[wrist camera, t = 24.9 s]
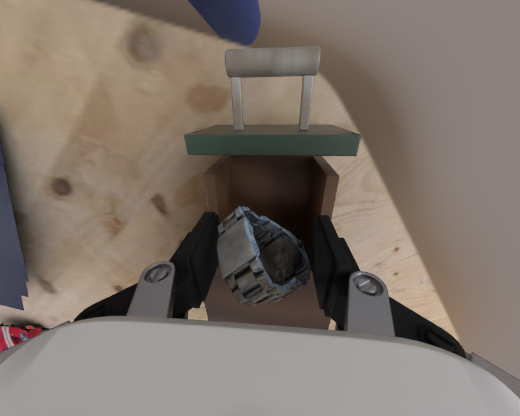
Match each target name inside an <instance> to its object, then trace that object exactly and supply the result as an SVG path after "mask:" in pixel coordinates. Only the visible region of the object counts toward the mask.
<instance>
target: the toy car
mask: <svg viewBox="0 0 520 416" xmlns="http://www.w3.org/2000/svg"><path fill="white" fill-rule="evenodd" d="M40 327H41V326H40V325H38V327H37V328H35V327H34V326H32V325H31V326H30V325H29V326H26V327H25V328H27V329H32V330H30V332H27V331H25V330H22V329H20V328H19V327H15V326H13V325H11V326H8V325H3V323H2V324H0V352H2V351H4V350H6V349H8V348H10V347H12V346H15V345H17V344H19V343H21V342H23V341H25V340H28V339H30V338H32V337H34V336H36V335H38V334H41V333H43V332H45V331H47V330H48V329H45V328H43V329H42V328H40Z"/></svg>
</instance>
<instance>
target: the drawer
mask: <svg viewBox="0 0 520 416" xmlns="http://www.w3.org/2000/svg"><path fill="white" fill-rule="evenodd" d="M319 63H320V47H319V46H309V47H281V48H253V49H227V50H226V51H225V67H226V72H227V75H228V77H229V78H231V89H232V104H233V118H234V125H215V126H212V127H209V128H205V129H202V130H199V131H195V132H192V133H189V134H186V135H184V138H185V143H186V148H187V154H188V155H223V156H222V157H221V158H220V159H219V160H218V161H217V162H216V163H214V164H213V165H212V166H211V167H210V168H209V169H208V170H207V171H206V172H204V173H203V179H204V186H205V192H206V198H207V205H208V211H209V212H215V214H218V216H219V223H220V224H221V223H222V222H223V220H224V219H225V218H226V217H227V216H229V215H230V214H231V213H233V212H234V211H235V210H236V209H237V208H238V207H239V206H241V207H243V206H244V207H248V208H249V211H250V212H254V213H255V214H256V215H257V216H258V217H261V216H265V217H267V218H269V220H271V221H273V222H275V223H277V224H279V225H280V226H281V227H283V228H285V229H286V230H288V231H290V232H291V233H292V234H293V235H294V236H295V237H296V238H297V239H298V241H299V240H302V241H303V242H304V244H305V245H304V247H303V248H304V249H305V251H306V253H307V256H308V258H309V249H310V243H311V236H312V229H313V222H314V218H315V217H317V216H318V215H328V216H329V218H330V220H331V217H332V212H333V207H334V202H335V196H336V191H337V186H338V181H339V175H338V174H337V173H336V172H335V171H334V170H333V168H332V167H331V166H330V165H329V164H328V163H327V162H326V161H325V159H324V158H323V157H322V156H356V155H357V151H358V147H359V142H360V138H361V135H360V134H357V133H354V132H351V131H348V130H345V129H342V128H339V127H336V126H334V125H309V117H310V108H311V98H312V88H313V78H314V76H315V75H316V74H317V72H318V68H319ZM284 76H303V81H302V93H301V106H300V119H299V125H244V123H243V102H242V80H241V78H242V77H284ZM309 261H310V260H309Z"/></svg>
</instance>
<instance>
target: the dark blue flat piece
mask: <svg viewBox="0 0 520 416" xmlns="http://www.w3.org/2000/svg"><path fill="white" fill-rule="evenodd" d="M5 172H6V169H5V163H4V158H3V153H2V147H1V142H0V305H4V306H8V307H12V308H16V309H20V310H24V308H23V303H22V298H21V295H22V296H26V297H28V291H27V286H26V281H28V277H27V271H26V265H25V260H23V256H22V251H21V247H20V242H19V237H18V232H17V227H16V223H15V218H14V213H13V208H12V203H11V199H10V194H9V189H8V184H7V179H6V175H5Z"/></svg>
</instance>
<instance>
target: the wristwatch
mask: <svg viewBox="0 0 520 416" xmlns="http://www.w3.org/2000/svg"><path fill="white" fill-rule="evenodd" d="M217 228H218V231H219V234H218V235H220V237H219V238H218V241H217V255H218V264H219V268H220V271H221V274H222V277H223V279H224V280H225V281H226V283H227V285H228V286H229V288H230V289H231V290H232V293H233V295H234V297H235V298H236V299H237V301H238V302H239V303H240V304H242V305H243V304H245V305H251V306H255V305H260V304H263V303H266V302H268V301H272V302H273V301H274V302H278V301H280V300H282V299H284V298H285V297H288V296H289V295H290V294H292V293H294V292H295V291H297V290H298V289H300V288H302V287H303V286H304V285H306V284H307V281H308V280H309V278H310V276H311V275H310V269H311V265H310V261H309V258H308V256H307V253H306V251H305V249H304V248H303V247H304V245H305V244H304V242H303V241H302V240H299V241H298V239H297V238H296V237H295V236H294V235H293V234H292V233H291V232H290V231H288V230H286V229H285V228H283V227H281V226H280V225H279V224H277V223H275V222H273V221H271V220H269V218H267V217H265V216H261V217H258V216H257V215H256V214H255V213H254V212H250V211H249V208H248V207H244V206H243V207H241V206H239V207H238V208H237V209H236V210H235V211H234V212H233V213H231V214H230V215H229V216H227V217H226V218H225V219H224V220H223V222H222V223H221V224H220V225H219V226H218V227H217Z"/></svg>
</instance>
